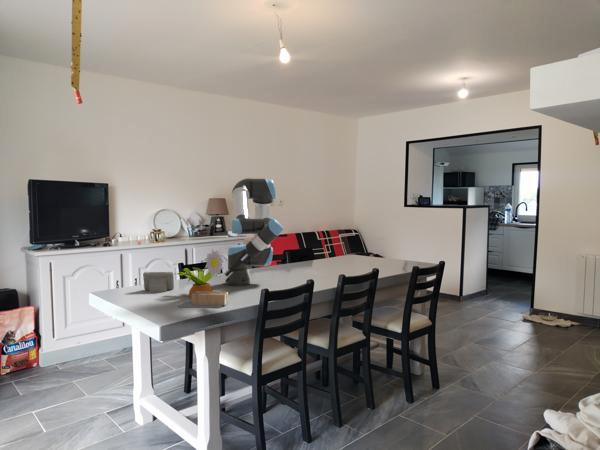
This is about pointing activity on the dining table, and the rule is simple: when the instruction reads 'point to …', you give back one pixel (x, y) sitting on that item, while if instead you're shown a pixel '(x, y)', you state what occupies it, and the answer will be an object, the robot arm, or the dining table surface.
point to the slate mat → (189, 304)
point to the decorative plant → (200, 283)
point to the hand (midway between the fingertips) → (221, 279)
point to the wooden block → (209, 298)
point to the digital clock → (158, 281)
